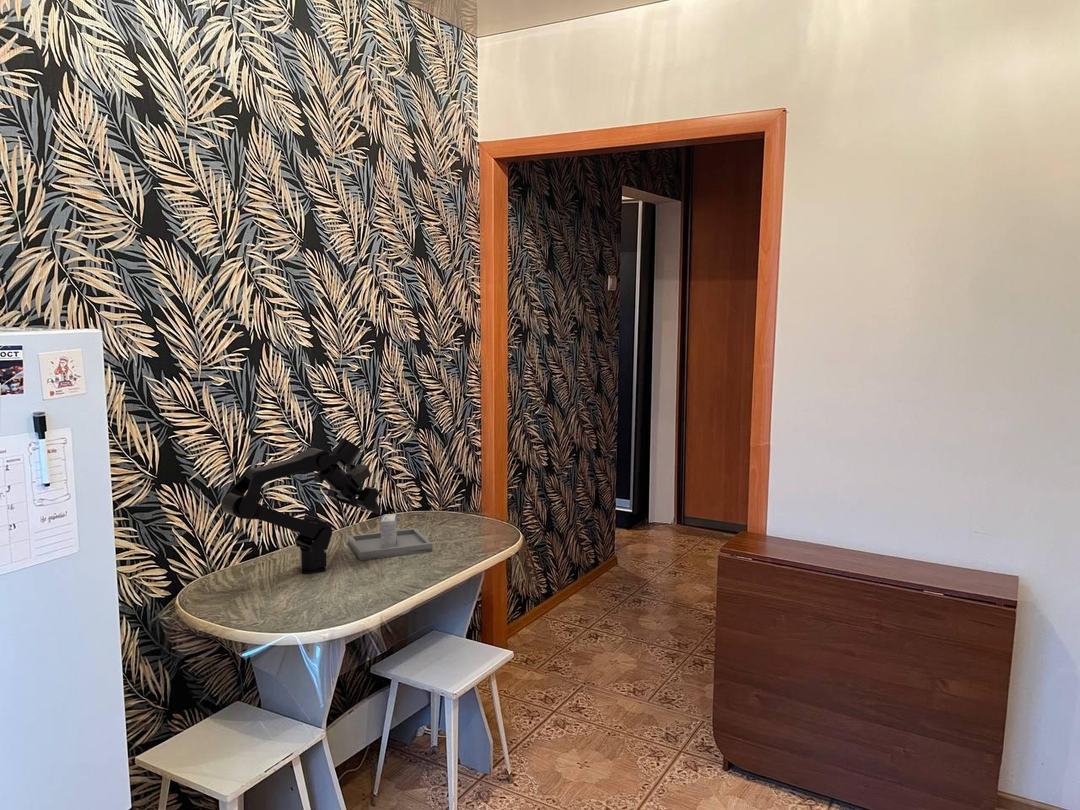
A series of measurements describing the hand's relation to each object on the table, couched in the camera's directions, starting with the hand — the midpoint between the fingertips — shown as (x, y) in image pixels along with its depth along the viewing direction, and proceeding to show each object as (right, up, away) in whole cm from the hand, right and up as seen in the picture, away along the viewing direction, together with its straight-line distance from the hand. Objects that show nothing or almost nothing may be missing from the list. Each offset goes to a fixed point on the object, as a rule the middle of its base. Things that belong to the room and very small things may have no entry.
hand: (369, 509), depth 227 cm
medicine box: (+5, -12, +7) cm, 15 cm away
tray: (+5, -13, +7) cm, 15 cm away
